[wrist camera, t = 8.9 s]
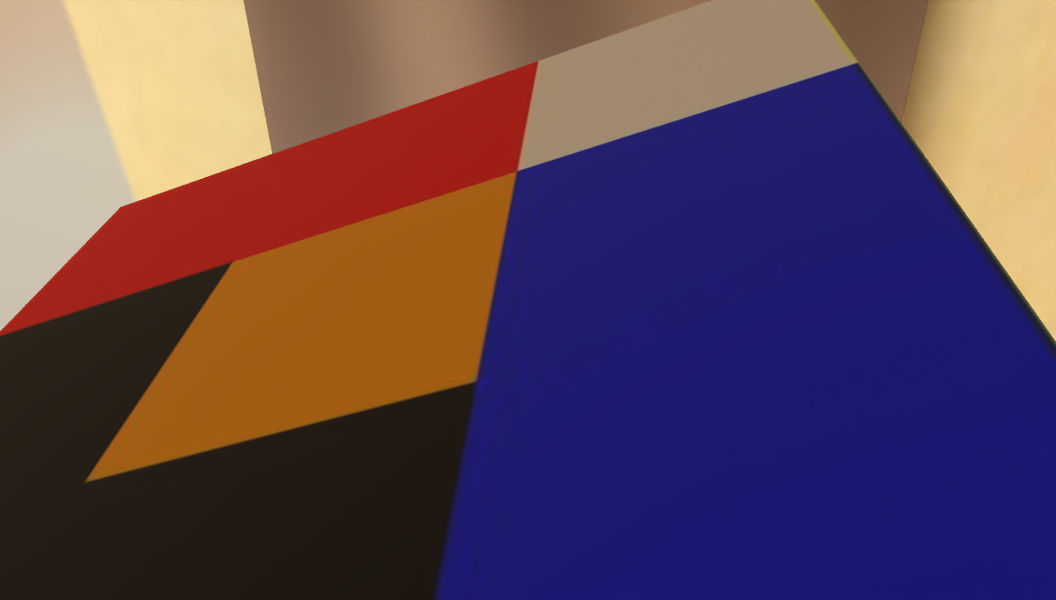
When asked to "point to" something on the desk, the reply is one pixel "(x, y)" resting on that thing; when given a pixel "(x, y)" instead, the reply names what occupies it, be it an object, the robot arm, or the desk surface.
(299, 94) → the walnut plinth
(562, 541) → the puzzle toy
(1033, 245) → the desk surface
